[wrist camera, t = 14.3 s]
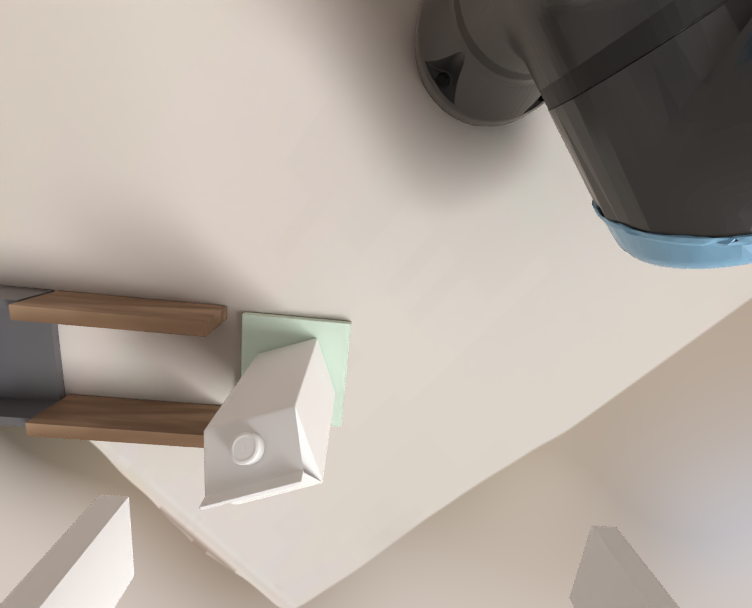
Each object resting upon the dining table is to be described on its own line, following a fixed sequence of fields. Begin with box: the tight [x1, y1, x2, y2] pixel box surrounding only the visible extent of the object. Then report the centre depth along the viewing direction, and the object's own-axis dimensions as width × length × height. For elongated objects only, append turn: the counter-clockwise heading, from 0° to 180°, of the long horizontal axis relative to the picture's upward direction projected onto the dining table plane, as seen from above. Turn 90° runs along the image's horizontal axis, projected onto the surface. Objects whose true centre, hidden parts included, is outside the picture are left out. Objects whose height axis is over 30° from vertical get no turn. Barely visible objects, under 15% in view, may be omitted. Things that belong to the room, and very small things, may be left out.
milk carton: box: [199, 338, 335, 510], centre depth 34 cm, size 7×7×19 cm
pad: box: [241, 312, 351, 427], centre depth 44 cm, size 13×12×1 cm
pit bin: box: [0, 285, 65, 427], centre depth 40 cm, size 14×8×4 cm, turn 174°
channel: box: [9, 291, 227, 448], centre depth 40 cm, size 14×18×6 cm
